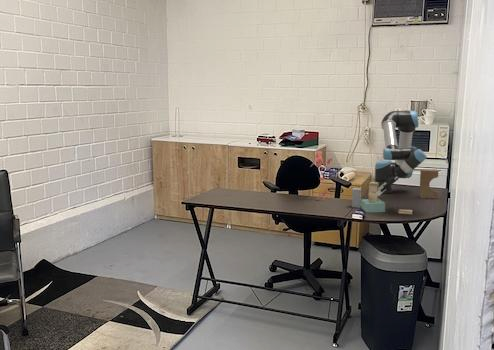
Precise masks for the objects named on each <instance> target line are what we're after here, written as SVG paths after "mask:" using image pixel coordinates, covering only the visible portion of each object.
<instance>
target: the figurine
mask: <svg viewBox="0 0 494 350" xmlns="http://www.w3.org/2000/svg"><path fill="white" fill-rule="evenodd" d="M322 154H323V152H322V150H321V151H320V149H319V150H317V151H316V154H314V157H315V160H314V161H313V163H312V164H311V165H310V167H312V166H314V165H315V166H316V167H317V166H318V167H317V168H318V169H319V168H320V174H322V171H323V170H324V169H325V168H327V169H330V168H331V164H332V161H333V158H332V157H330V158H329V159H327V161H326V164H327V165H329V166H326V165H325V164H324V160H323V155H322ZM322 165H323V167H322ZM319 180H320V186H323V185H322V181H324V182H325V186H328V185H327V180H325V178H324V177H323V176H320V177H319ZM325 195H327V197H328V198H329V199H330V198H331V197H330V195H329V193H328V189H325V191H324V192H322V189H320V192H319V194H318V196H317V198H316V200H319V199H320V197H321V198H322V199H323V201H325V198H324V197H325ZM312 197H313V196H310V198H312ZM306 199H307V200H308V199H309V197H307V198H306Z"/></svg>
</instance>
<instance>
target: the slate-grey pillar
mask: <svg viewBox="0 0 494 350" xmlns="http://www.w3.org/2000/svg"><path fill="white" fill-rule="evenodd" d="M351 191H352V192H351V193H352V194H351V197H352V199H351V207H352V208H359V209H360V208H361V199H362V188H361V187H360V188H359V187H353V188H352V190H351Z"/></svg>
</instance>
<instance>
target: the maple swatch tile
mask: <svg viewBox="0 0 494 350" xmlns="http://www.w3.org/2000/svg"><path fill="white" fill-rule="evenodd" d="M397 213H398V214H399V215H400V214H401V215H402V214H403V215H413V210H412V209H399V208H398V212H397Z"/></svg>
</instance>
